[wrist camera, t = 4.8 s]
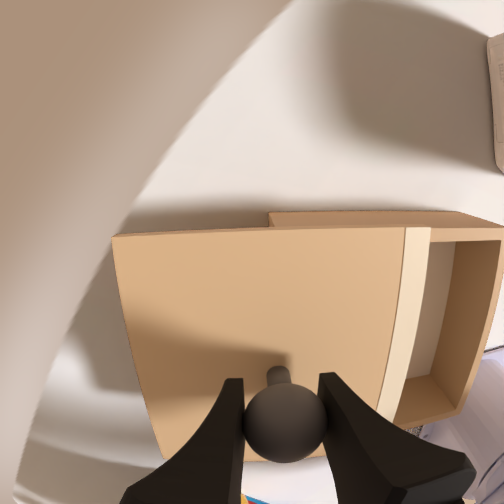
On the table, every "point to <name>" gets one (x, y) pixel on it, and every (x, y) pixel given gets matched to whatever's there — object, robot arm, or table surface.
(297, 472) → the table surface
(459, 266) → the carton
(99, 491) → the table surface
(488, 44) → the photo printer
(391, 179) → the table surface
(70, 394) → the table surface
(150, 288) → the lid
